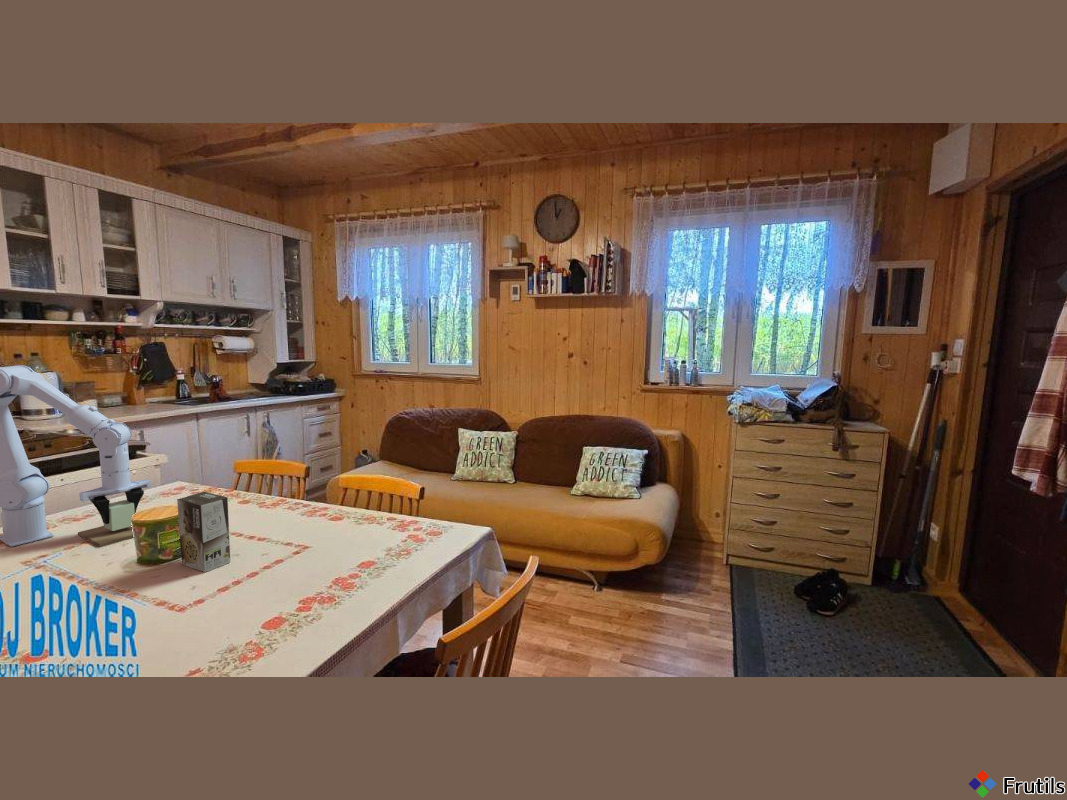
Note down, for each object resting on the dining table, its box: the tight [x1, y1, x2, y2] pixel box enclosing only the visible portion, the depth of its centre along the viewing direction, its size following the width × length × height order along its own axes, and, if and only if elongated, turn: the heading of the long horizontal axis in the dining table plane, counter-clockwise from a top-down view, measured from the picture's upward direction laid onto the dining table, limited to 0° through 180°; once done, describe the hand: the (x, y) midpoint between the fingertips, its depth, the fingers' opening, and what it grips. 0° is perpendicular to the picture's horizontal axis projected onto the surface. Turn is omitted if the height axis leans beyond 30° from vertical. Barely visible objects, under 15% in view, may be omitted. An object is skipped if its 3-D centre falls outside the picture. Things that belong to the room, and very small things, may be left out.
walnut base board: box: [77, 525, 134, 548], centre depth 128 cm, size 13×13×1 cm
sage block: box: [103, 499, 136, 531], centre depth 128 cm, size 5×5×6 cm
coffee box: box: [176, 491, 231, 573], centre depth 113 cm, size 9×6×16 cm
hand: (119, 519), depth 128 cm, fingers closed on sage block, 5 cm apart
